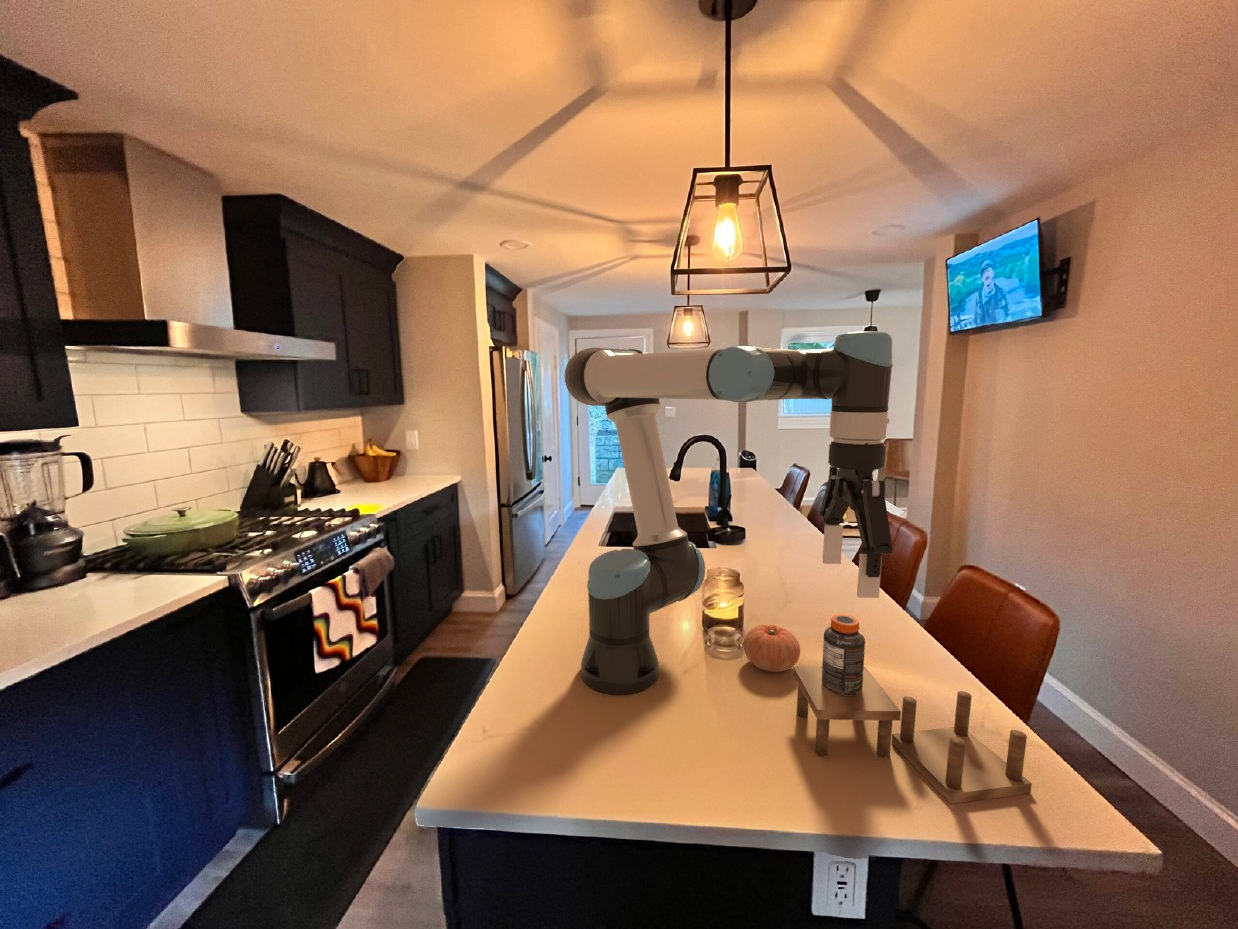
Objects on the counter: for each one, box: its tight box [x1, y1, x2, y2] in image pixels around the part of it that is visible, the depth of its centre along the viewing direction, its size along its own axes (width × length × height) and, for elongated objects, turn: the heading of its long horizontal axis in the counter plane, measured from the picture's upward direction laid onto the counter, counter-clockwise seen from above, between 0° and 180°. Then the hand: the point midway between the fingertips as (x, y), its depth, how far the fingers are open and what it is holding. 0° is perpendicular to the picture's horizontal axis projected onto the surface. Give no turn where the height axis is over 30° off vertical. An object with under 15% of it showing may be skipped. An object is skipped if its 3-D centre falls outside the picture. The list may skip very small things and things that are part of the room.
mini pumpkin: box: [742, 624, 801, 673], centre depth 102 cm, size 11×11×8 cm
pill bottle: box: [822, 613, 866, 696], centre depth 80 cm, size 6×6×11 cm
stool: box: [792, 665, 902, 759], centre depth 82 cm, size 12×12×8 cm
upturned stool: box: [891, 690, 1033, 805], centre depth 74 cm, size 12×12×8 cm
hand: (848, 578), depth 79 cm, fingers open, 13 cm apart
